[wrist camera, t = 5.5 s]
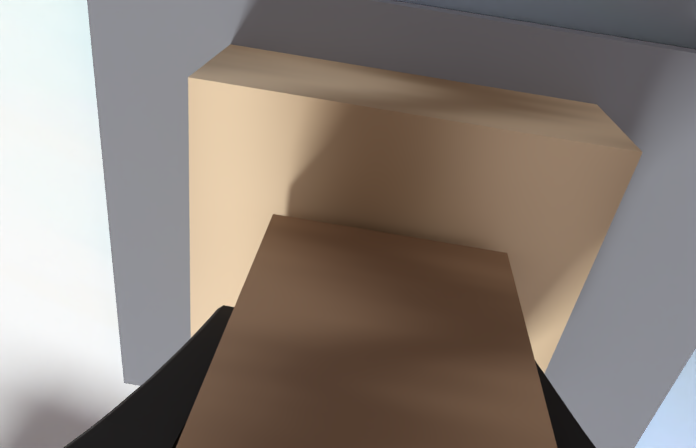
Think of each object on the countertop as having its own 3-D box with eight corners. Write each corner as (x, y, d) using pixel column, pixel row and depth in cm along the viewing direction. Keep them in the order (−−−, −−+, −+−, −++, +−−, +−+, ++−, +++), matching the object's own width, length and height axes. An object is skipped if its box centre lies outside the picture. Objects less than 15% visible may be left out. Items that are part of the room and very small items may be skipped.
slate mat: (843, 73, 13) (861, 80, 12) (616, 453, 20) (621, 468, 20) (95, -49, 13) (82, -47, 13) (131, 370, 20) (124, 382, 20)
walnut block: (507, 252, 12) (581, 542, 7) (451, 408, 14) (473, 699, 9) (273, 214, 12) (167, 469, 7) (261, 376, 14) (179, 648, 9)
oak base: (596, 104, 13) (642, 152, 11) (495, 371, 18) (510, 450, 15) (230, 44, 13) (188, 77, 11) (222, 324, 18) (190, 395, 15)
